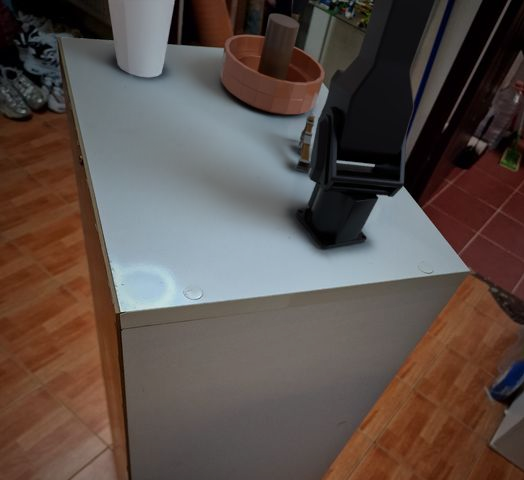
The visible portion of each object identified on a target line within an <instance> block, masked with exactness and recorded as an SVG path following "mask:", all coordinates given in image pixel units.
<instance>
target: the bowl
mask: <svg viewBox="0 0 524 480" xmlns="http://www.w3.org/2000/svg"><path fill="white" fill-rule="evenodd" d="M264 38H265V35H264V36H263V35H257V34H256V35H255V34H239V35H233V36H231V37H229V38H227V39H226V41H225V43H224V45H223V51H222V52H223V53H222V59H221V66H220V72H219V73H220V74H219V77H220V81H221V83H222V85H223V86H224V87H225V88H226V90H227V91H228V92H229V93H230V94H232V95H233V96H234V97H236V98H237V99H238V100H240V101H242V102H243V103H244V104H247V105H248V106H250V107H251V108H254V109H257V110H260V111H263V112H267V113H271V114H276V115H301V114H304V113H309V112H310V111H311V110H313V109H314V108H315V107H316V104H317V101H318V97H319V95H320V91H321V88H322V85H323V82H324V79H325V74H326V73H325V70H324V68H323V66H322V64H321V63H320V62H318V60H317V59H316V58H314V57H313V56H312V55H310V54H309V53H307V52H306V51H304V50H303V49H301V48H299V47H296V46H294V49H293V52H292V56H291V60H290V64H289V68H288V72H287V75H286V79H285V81H284V80H279V79H275V78H272V77H269V76H266V75H263V74H261V73H259V72H257V71H258V66H259V62H260V57H261V52H262V47H263V43H264Z"/></svg>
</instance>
